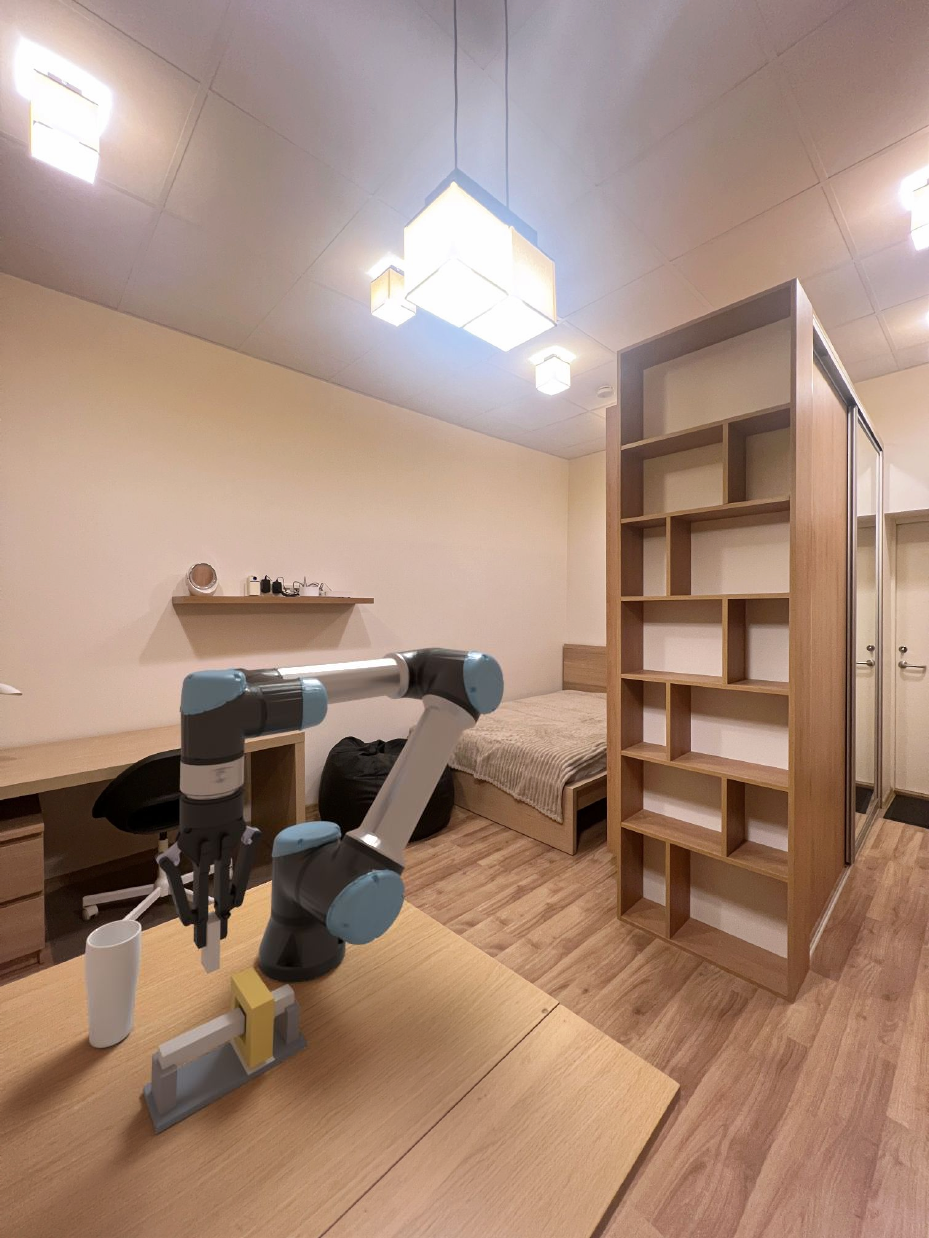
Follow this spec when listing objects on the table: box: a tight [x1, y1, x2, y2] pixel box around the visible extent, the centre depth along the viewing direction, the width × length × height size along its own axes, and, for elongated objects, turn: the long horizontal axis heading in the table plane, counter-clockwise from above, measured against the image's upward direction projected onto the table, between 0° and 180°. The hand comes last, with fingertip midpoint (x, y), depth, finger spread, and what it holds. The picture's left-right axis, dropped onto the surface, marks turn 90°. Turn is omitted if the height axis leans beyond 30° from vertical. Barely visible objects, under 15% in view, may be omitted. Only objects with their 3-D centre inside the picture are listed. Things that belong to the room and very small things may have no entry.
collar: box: [229, 966, 275, 1068], centre depth 72 cm, size 8×3×8 cm, turn 43°
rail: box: [142, 983, 308, 1135], centre depth 70 cm, size 7×19×7 cm, turn 133°
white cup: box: [84, 919, 143, 1049], centre depth 75 cm, size 7×7×15 cm
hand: (210, 965), depth 68 cm, fingers closed
